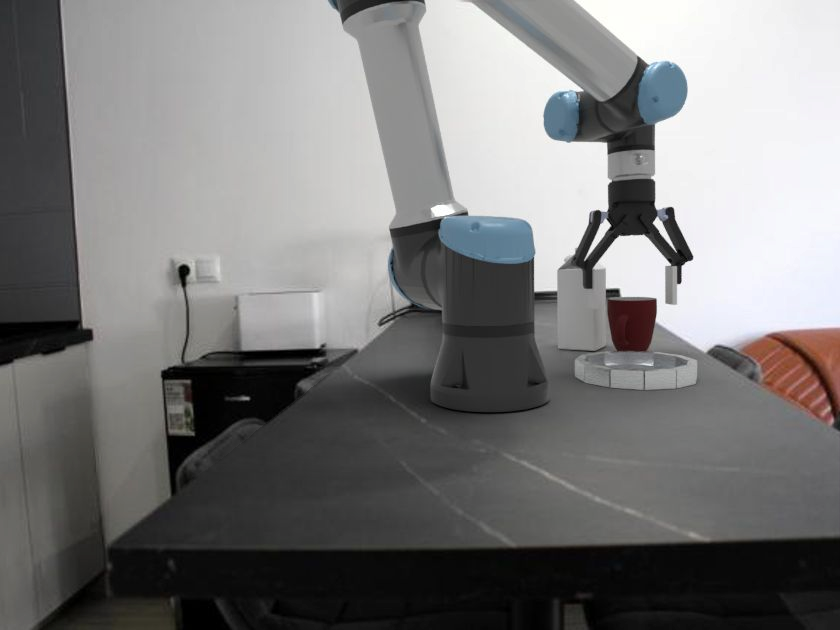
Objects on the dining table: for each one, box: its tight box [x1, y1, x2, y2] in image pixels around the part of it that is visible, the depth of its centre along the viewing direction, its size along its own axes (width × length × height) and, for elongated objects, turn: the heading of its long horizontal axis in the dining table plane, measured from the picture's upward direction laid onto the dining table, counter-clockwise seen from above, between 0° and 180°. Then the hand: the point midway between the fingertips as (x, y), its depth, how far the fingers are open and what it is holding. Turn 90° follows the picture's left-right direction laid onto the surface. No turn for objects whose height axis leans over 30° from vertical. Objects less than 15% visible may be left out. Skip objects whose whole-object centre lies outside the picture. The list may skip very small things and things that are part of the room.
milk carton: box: [556, 247, 607, 352], centre depth 117 cm, size 7×7×19 cm
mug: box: [606, 296, 658, 352], centre depth 106 cm, size 10×8×10 cm
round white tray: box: [574, 350, 698, 391], centre depth 90 cm, size 16×16×2 cm
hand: (632, 306), depth 106 cm, fingers open, 13 cm apart
